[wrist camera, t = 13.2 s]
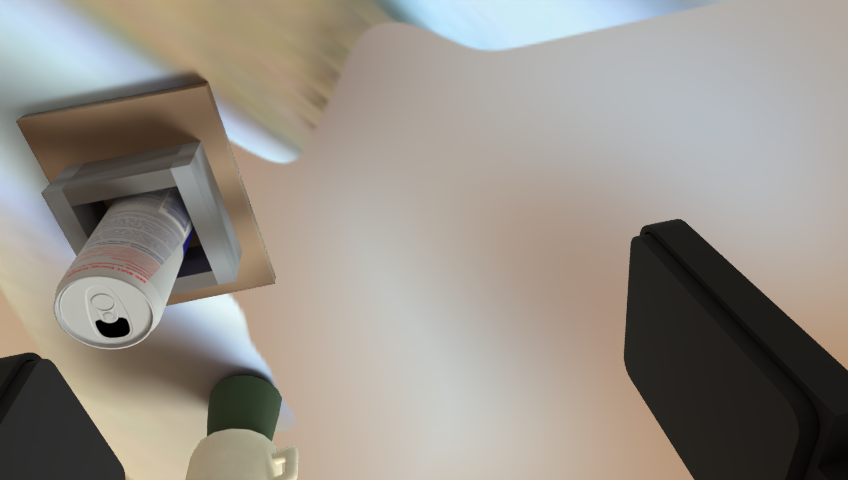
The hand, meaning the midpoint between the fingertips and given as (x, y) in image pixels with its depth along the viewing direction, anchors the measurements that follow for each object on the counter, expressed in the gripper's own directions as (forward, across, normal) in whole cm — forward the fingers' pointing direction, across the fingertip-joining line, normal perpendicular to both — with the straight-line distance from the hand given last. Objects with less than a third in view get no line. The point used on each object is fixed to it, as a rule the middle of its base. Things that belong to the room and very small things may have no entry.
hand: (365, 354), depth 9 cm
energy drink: (+32, +15, +11) cm, 37 cm away
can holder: (+32, +15, +11) cm, 37 cm away
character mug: (+32, +15, +31) cm, 47 cm away
